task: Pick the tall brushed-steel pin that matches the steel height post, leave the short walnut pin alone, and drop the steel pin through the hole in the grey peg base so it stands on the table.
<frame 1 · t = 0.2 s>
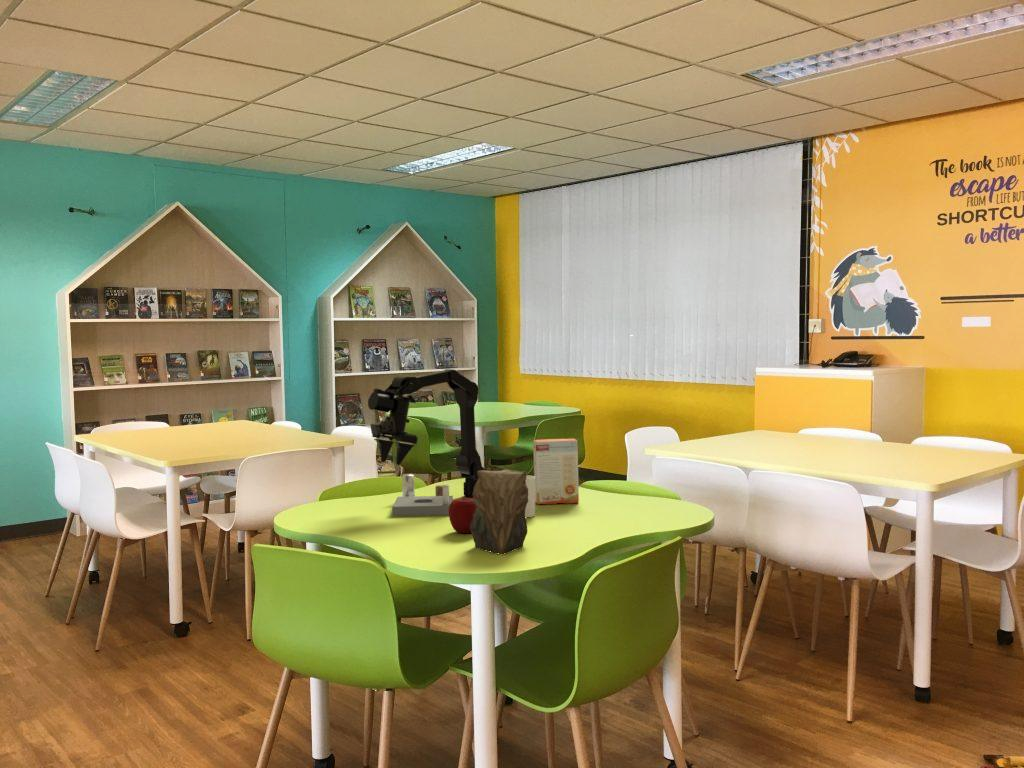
hand: (390, 463, 267), 15 cm above the table, tool pointing down, fingers open, 9 cm apart
long pin: (408, 501, 282), on the table
cracker box: (556, 503, 277), on the table
short pin: (441, 501, 283), on the table
apple: (465, 532, 237), on the table
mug: (519, 517, 256), on the table
grey peg base: (423, 510, 267), on the table
owl: (499, 549, 218), on the table
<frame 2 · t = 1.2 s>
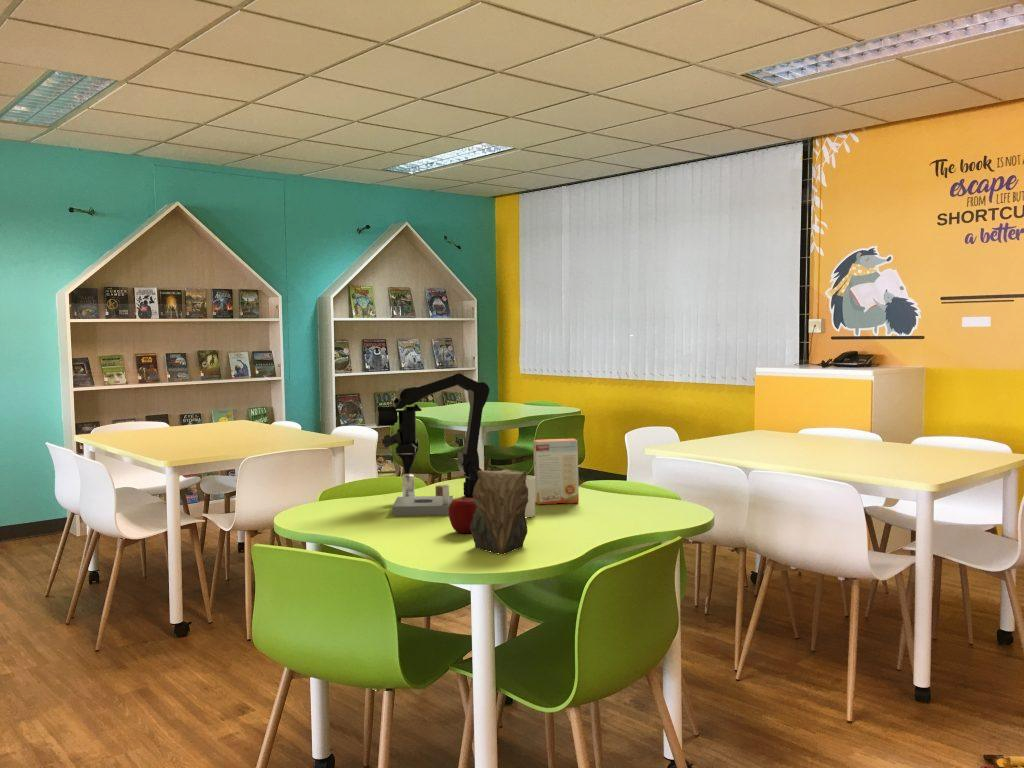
hand: (408, 471, 282), 10 cm above the table, tool pointing down, fingers open, 9 cm apart
nothing on the table moved.
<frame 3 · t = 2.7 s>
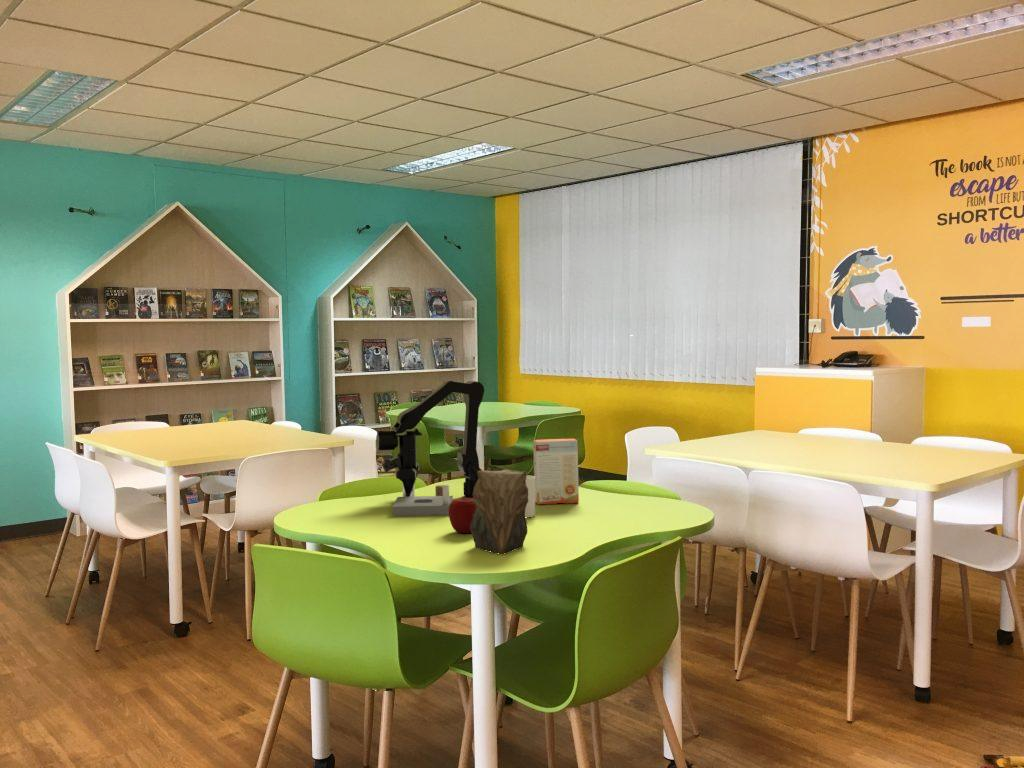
hand: (408, 495, 282), 2 cm above the table, tool pointing down, fingers closed on long pin, 4 cm apart
long pin: (408, 501, 282), on the table, touching gripper
everything else where it was.
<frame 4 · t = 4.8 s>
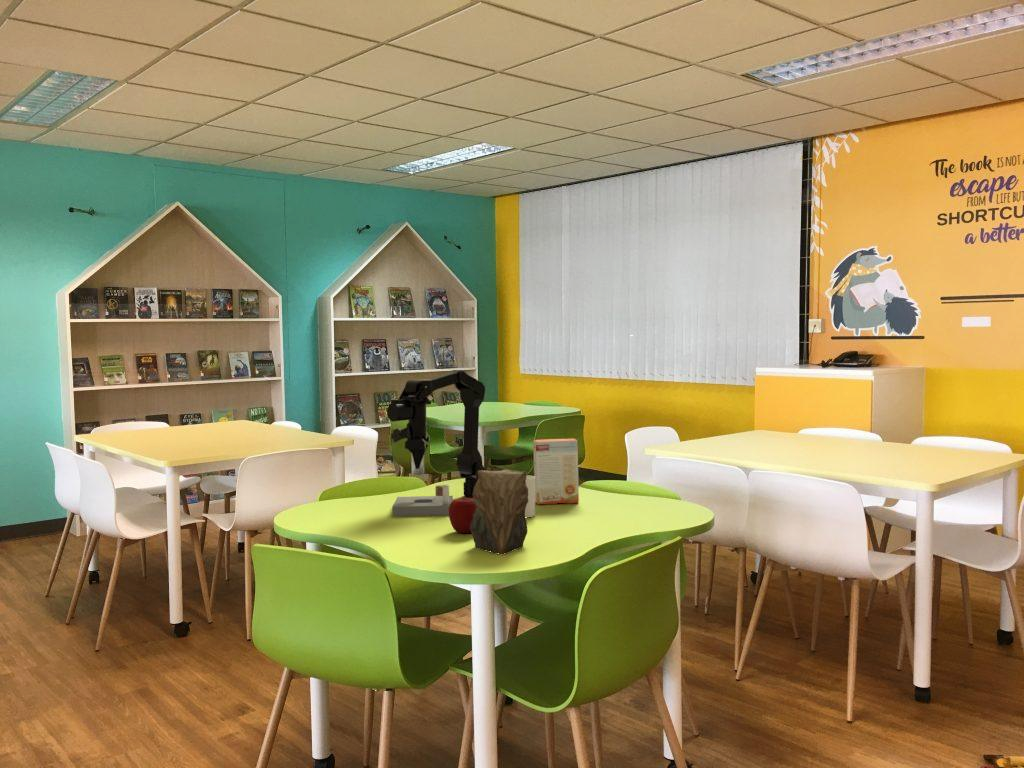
hand: (418, 467, 270), 13 cm above the table, tool pointing down, fingers closed on long pin, 4 cm apart
long pin: (417, 473, 270), point 11 cm above the table, touching gripper
everything else where it was.
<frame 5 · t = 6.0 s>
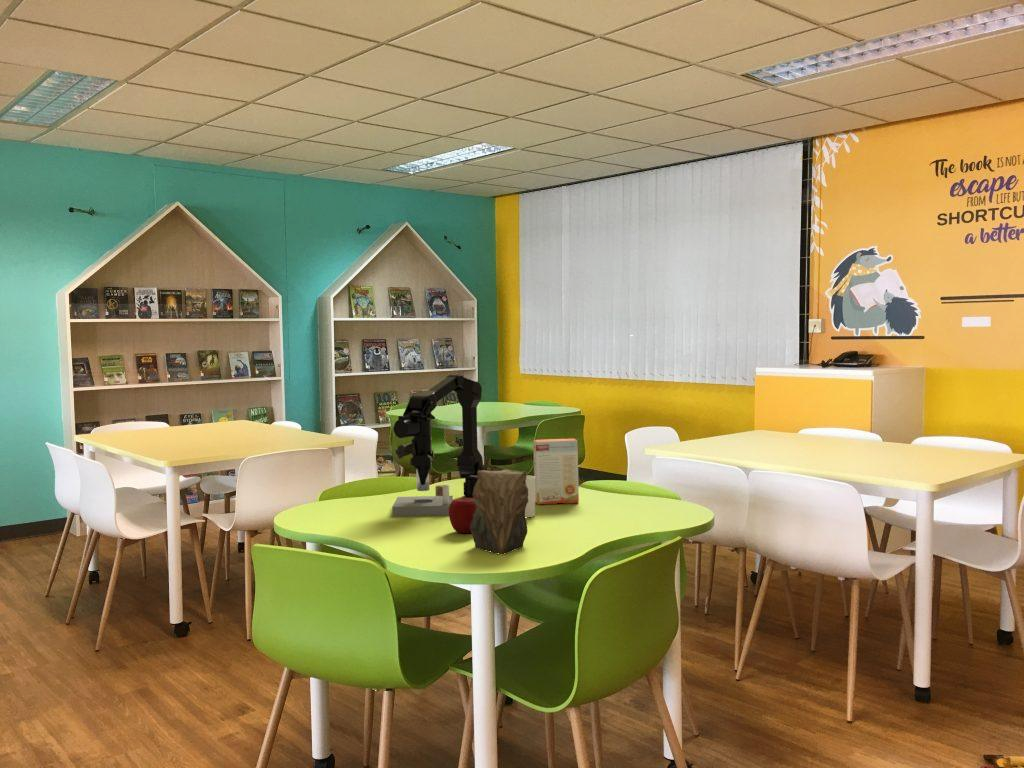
hand: (423, 483, 267), 9 cm above the table, tool pointing down, fingers closed on long pin, 4 cm apart
long pin: (423, 489, 267), point 7 cm above the table, touching gripper
everything else where it was.
when the fingers open (4 cm above the table, at t = 7.1 s): long pin drops 2 cm, resting in grey peg base.
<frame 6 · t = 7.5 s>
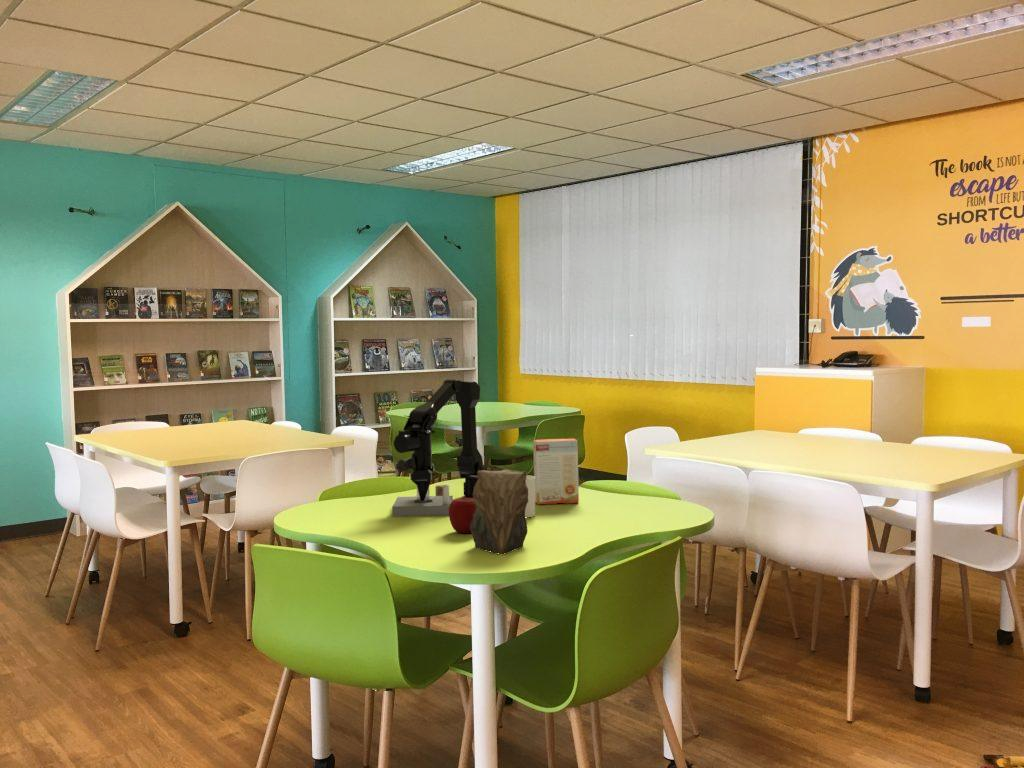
hand: (423, 497, 267), 4 cm above the table, tool pointing down, fingers open, 8 cm apart
long pin: (423, 510, 267), resting in grey peg base
everything else where it was.
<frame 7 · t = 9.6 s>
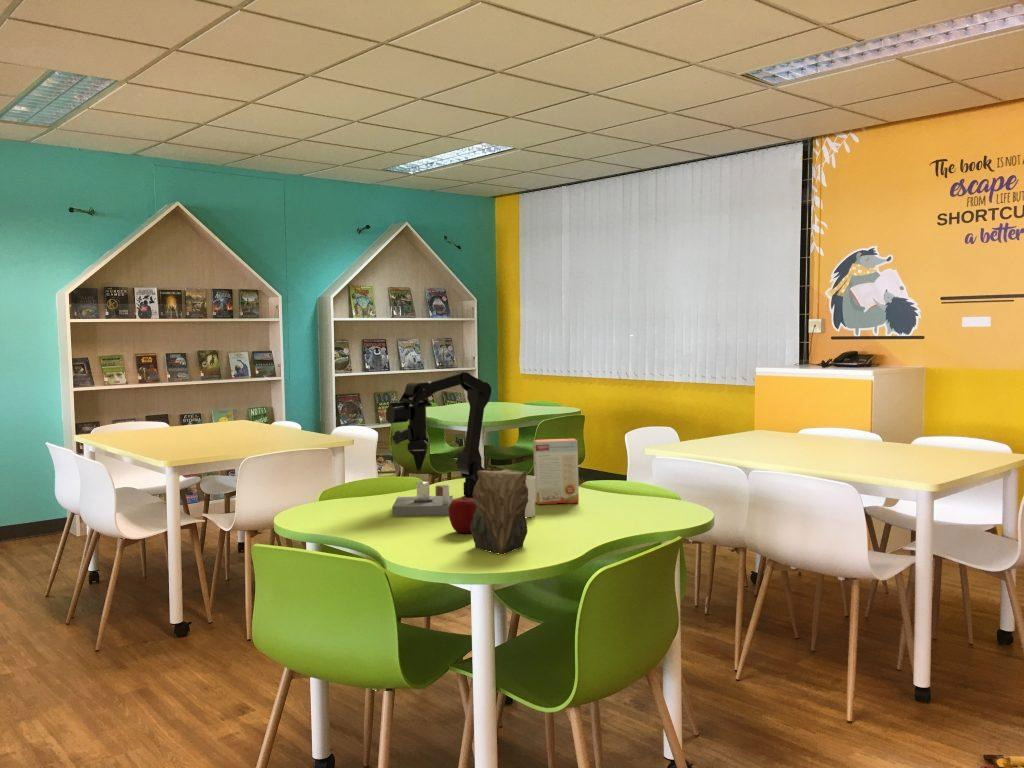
hand: (419, 468, 276), 12 cm above the table, tool pointing down, fingers open, 9 cm apart
nothing on the table moved.
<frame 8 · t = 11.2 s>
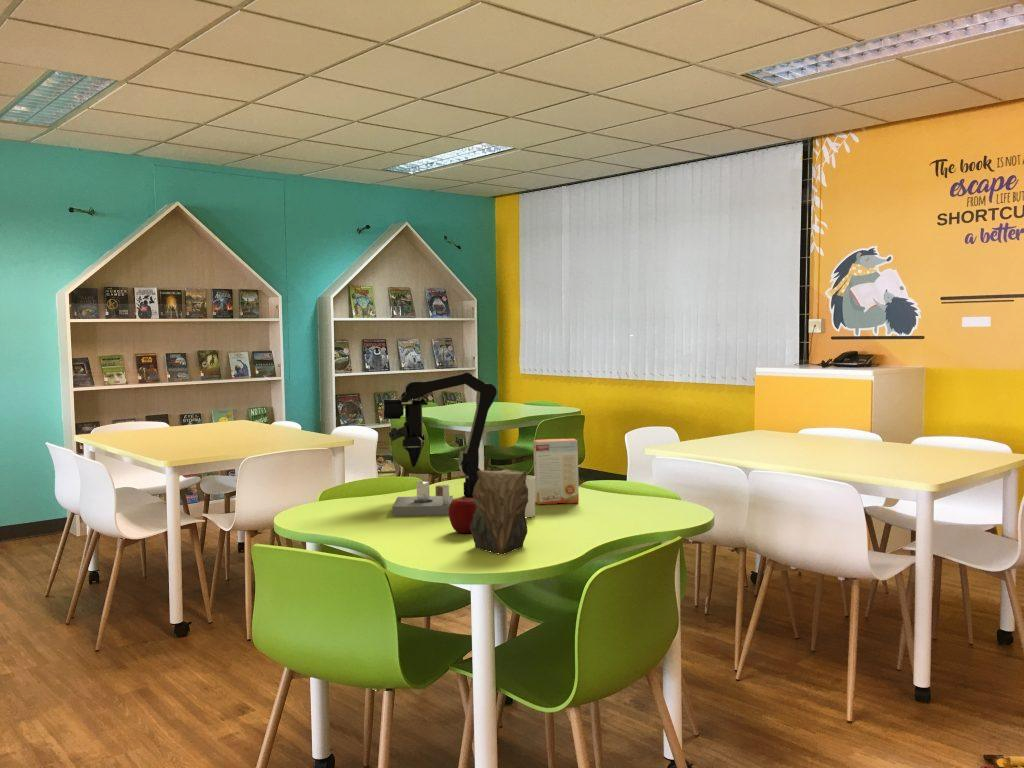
hand: (414, 464, 284), 12 cm above the table, tool pointing down, fingers open, 9 cm apart
nothing on the table moved.
at the end: long pin 0.1 cm off-centre on the grey peg base, point 0.0 cm above the grey peg base's base; long pin tilted 0°; short pin moved 0.1 cm from its start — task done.
